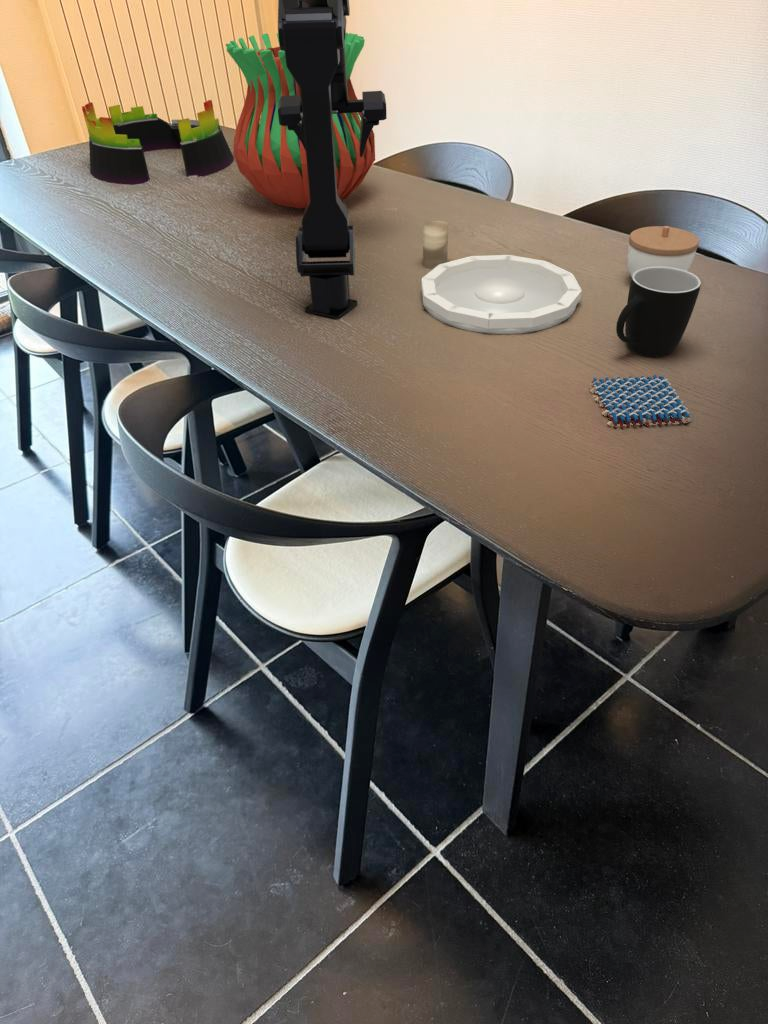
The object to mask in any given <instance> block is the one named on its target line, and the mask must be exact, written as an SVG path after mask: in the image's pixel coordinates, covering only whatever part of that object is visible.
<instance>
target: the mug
mask: <svg viewBox="0 0 768 1024" xmlns="http://www.w3.org/2000/svg"><path fill="white" fill-rule="evenodd" d="M700 279H701V278H699V277H698V276H697V275H696V274H695V273H693V272H690V271H685V270H682V269H678V268H673V267H662V266H656V267H647V268H642V269H640V270H637V271H636V272H635V273H634V274H633V275H632V277H631V279H630V284H629V288H628V295H627V301H626V302H627V303H626V305H625V306H624V307H623V309H622V310H621V312H620V314H619V315H618V318H617V321H616V327H615V330H616V335H617V337H618V339H619V340H620V341H621V342H623V343H626V344H627V347H628V348H629V350H630V351H632V352H633V353H636V354H638V355H641V356H644V357H649V356H651V358H659V357H658V356H661V357H664V355H665V356H668V355H669V353H670V354H671V353H672V352H673V351H675V349H676V348H677V347H678V345H679V344H680V341H681V340H682V338H683V336H684V333H685V331H686V329H687V327H688V324H689V323H690V319H691V317H692V314H693V312H694V308H695V306H696V302H697V300H698V296H699V294H700V291H701V290H700V288H701V284H702V283H701V280H700ZM624 330H625V331H624ZM624 332H625V333H624ZM667 354H668V355H667ZM656 356H657V357H656Z"/></svg>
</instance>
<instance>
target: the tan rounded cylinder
mask: <svg viewBox="0 0 768 1024" xmlns="http://www.w3.org/2000/svg"><path fill="white" fill-rule="evenodd" d="M422 238H423V239H422V266H423V267H424V268H427V269H431V270H433V269H434V268H435V267H437V266H438V265H439V264H443V263H447V262H448V254H449V253H448V251H449V249H448V248H449V247H448V246H449V223H448V222H446V221H444V220H429V221H425V222H424V223H422Z"/></svg>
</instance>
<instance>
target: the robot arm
mask: <svg viewBox="0 0 768 1024" xmlns="http://www.w3.org/2000/svg"><path fill="white" fill-rule="evenodd" d="M277 2H278V3H277V4H278V5H277V6H278V7H277V33H278V36H279V42H278V45H279V44H280V49H281V51H285V58H286V66H287V68H288V70H289V71H290V73H291V75H292V76H293V78H294V79H295V81H296V83H297V84H298V86H299V87H300V92H301V97H300V95H295V96H281V97H280V99H279V100H278V117H279V125H282V126H287V128H288V130H293V131H294V132H295V134H296V135H297V137H298V138H299V139H300V141H301V143H302V145H303V147H304V149H305V151H306V159H307V171H308V182H309V193H310V201H309V203H308V205H307V208H305V210H304V213H303V216H302V220H301V226H299V229H298V234H297V235H296V236H295V257H296V258H295V262H296V271H297V273H299V274H300V277H301V278H304V277H308V278H309V291H310V299H311V303H309V304H307V306H306V307H305V306H304V312H306V313H310V314H314V315H319V316H323V317H327V318H332V319H337V320H338V319H339V318H341V317H342V316H344V315H345V314H346V313H348V312H349V311H350V310H351V309H353V308H354V307H355V306H357V305H358V300H355V299H351V298H350V283H349V281H350V280H349V276H351V277H353V276H355V270H356V252H355V251H356V250H355V228H354V227H355V226H354V225H350V215H349V210H348V207H347V204H346V203H345V202H343V200H341V199H340V198H339V196H338V195H337V181H336V165H335V150H334V135H333V119H332V114H338V113H355V112H361V117H360V120H361V130H360V144H359V148H360V157H362V156H363V153H364V149H365V146H366V143H367V140H368V137H369V135H370V133H371V131H372V130H373V128H374V126H379V125H380V121H385V120H386V119H387V102H386V95H385V93H384V92H383V91H382V90H371V91H370V90H368V91H362V92H361V93H362V99H358V100H348V87H347V74H346V59H345V42H344V41H345V34H346V32H347V17H349V16H350V15H351V14H350V0H278V1H277ZM348 254H349V260H325V261H321V260H320V261H307V257H308V259H335V258H336V259H339V258H343V259H344V258H347V257H348Z"/></svg>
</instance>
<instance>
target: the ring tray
mask: <svg viewBox="0 0 768 1024" xmlns="http://www.w3.org/2000/svg"><path fill="white" fill-rule="evenodd" d="M420 283H421V294H422V304H423V308H424V309H425V311H427V312H428V313H429V315H431V316H432V317H433V318H435V319H437V320H438V321H440V322H441V323H444V324H446V325H447V326H448V325H449V326H451V327H454V328H457V329H460V330H461V329H462V330H464V331H468V332H473V333H474V332H475V333H479V334H480V333H482V334H489V335H491V334H493V335H494V334H495V335H516V334H528V333H532V332H539V331H543V330H546V329H551V328H552V327H555V326H557V325H559V324H562V323H564V322H565V321H566V320H568V319H570V317H571V316H572V315H573V314H575V311H576V309H577V304H578V303H579V302H580V301H581V299H582V298H581V297H582V291H583V290H582V288H581V286H580V284H579V282H578V281H577V279H576V277H575V275H574V274H573V273H571V272H570V271H568V270H566V269H563V268H561V267H559V266H557V265H555V264H553V263H551V262H549V261H547V260H543V259H542V260H541V259H536V258H530V257H525V256H518V255H512V254H496V255H495V254H493V255H470V256H467V257H462V258H457V259H455V260H451V261H447V263H443V264H439V265H438V266H437V267H435V268H434V269H431V271H429V272H428V273H426V275H424V276H422V278H421V281H420Z"/></svg>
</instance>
